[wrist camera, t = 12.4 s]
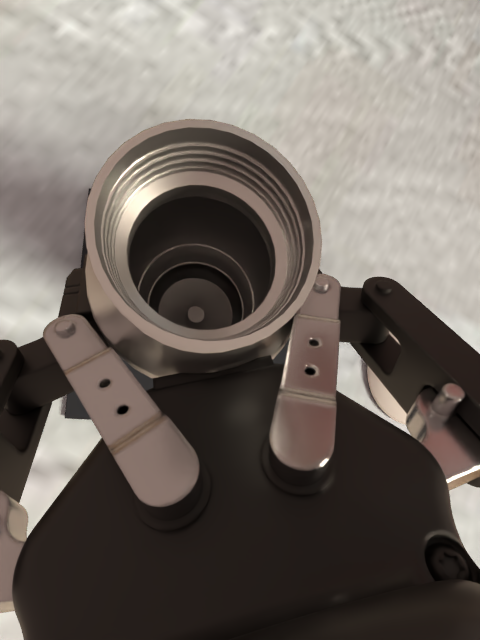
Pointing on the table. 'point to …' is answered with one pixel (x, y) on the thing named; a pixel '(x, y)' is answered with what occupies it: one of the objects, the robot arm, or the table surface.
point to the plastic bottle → (198, 248)
